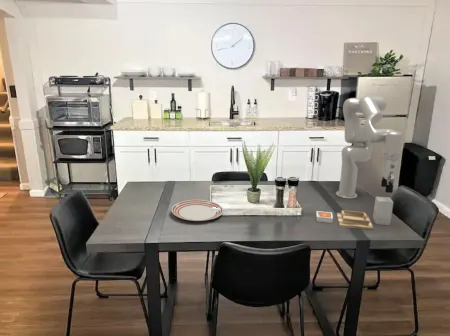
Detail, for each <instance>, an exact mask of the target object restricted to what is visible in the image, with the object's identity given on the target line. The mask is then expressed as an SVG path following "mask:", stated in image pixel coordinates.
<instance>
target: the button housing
mask: <svg viewBox="0 0 450 336" xmlns="http://www.w3.org/2000/svg"><path fill="white" fill-rule="evenodd" d="M315 212H316V213H315V220H316V222H317V223H318V222H320V223H329V224H333V223H334V218H333V212H331V211H324V212H325V213H328V214H329V217H320V213H322V212H323V211H320V210H319V211H318V210H316V211H315Z"/></svg>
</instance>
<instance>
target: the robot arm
mask: <svg viewBox="0 0 450 336" xmlns="http://www.w3.org/2000/svg"><path fill="white" fill-rule="evenodd" d="M386 108H387V100H386V99H385V97H383V96H381V95H378V96H377V95H376V96H375V95H366V96H363V97H350V98H347V99H345V101H344V102H343V106H342V112H343V113H342V114H343V118H344V141H345V142H346V143H347V144H361V145H346V146H344V147H343V148H342V149H341V172H340V180H339V188H338V190H337V191H336V192H335V195H336V196H338V197H340V198H341V199H342V198H343V199H350V200H351V199H356V198H358V193H356V187H357V180H358V174H359V173H358V171H359V168H358V166H357V164H356V162H368V161H370V160H371V159H372V154H373V145H374V144H376V145H379V144H380V145H381V144H382V145H384V146H383V151H382V152H383V153H382V159H383V160H384V161H383V165H382V171H381V176H382V177H381V185H380V186H381V188H385V189H384V192H385V193H389V194H393V191H394V190H393V189H394V183H395V181H397V177H398V162H399V161H400V155H401V149H402V142H403V133H402V132H401V131H396V129H395V130H394V129H393V128H374V127H373V125H376V124H378V123H380V121H381V120H382V119H383V115H384V114H383V112H384V111H385V110H386ZM357 113H362V115H363V116H364V119H365V121H364V123H363V127H361V126H360V123H361V121H360V117H359V115H358V114H357Z"/></svg>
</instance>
